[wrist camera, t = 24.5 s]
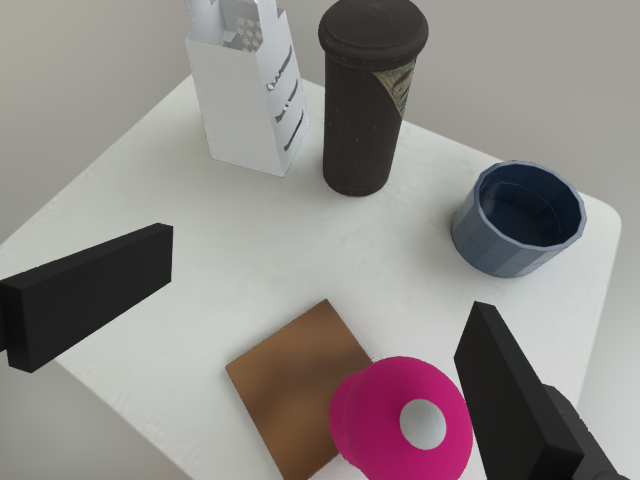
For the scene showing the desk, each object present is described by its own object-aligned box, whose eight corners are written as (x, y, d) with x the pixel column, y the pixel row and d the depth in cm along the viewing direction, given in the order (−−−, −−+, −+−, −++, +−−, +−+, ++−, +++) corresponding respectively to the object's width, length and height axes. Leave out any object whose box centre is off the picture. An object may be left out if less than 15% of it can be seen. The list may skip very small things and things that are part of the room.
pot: (564, 245, 39) (609, 213, 33) (500, 296, 37) (536, 272, 30) (493, 184, 43) (522, 145, 37) (432, 225, 41) (451, 191, 34)
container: (393, 198, 42) (443, 43, 25) (321, 201, 42) (319, 47, 25) (385, 146, 46) (423, -21, 28) (319, 148, 46) (316, -18, 28)
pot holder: (399, 402, 32) (401, 402, 31) (292, 490, 29) (291, 493, 28) (326, 300, 37) (326, 298, 36) (227, 368, 34) (224, 367, 33)
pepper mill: (312, 428, 30) (293, 452, 12) (355, 358, 33) (391, 294, 15) (383, 485, 28) (482, 610, 10) (422, 406, 31) (556, 397, 13)
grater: (243, 105, 50) (199, -64, 32) (310, 121, 49) (302, -48, 31) (211, 158, 46) (139, -5, 28) (283, 177, 44) (255, 17, 26)
